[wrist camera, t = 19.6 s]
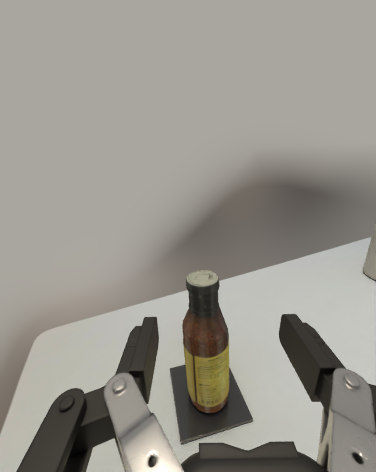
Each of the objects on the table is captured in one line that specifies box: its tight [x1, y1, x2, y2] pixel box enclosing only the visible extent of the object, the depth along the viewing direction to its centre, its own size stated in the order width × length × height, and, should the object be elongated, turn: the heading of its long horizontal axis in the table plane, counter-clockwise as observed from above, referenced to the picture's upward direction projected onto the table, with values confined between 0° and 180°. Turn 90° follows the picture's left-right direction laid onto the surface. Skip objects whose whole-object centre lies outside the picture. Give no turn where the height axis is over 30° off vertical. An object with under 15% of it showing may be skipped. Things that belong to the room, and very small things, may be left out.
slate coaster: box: [170, 365, 253, 444], centre depth 30 cm, size 10×10×1 cm
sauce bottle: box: [183, 270, 229, 413], centre depth 27 cm, size 6×6×20 cm
